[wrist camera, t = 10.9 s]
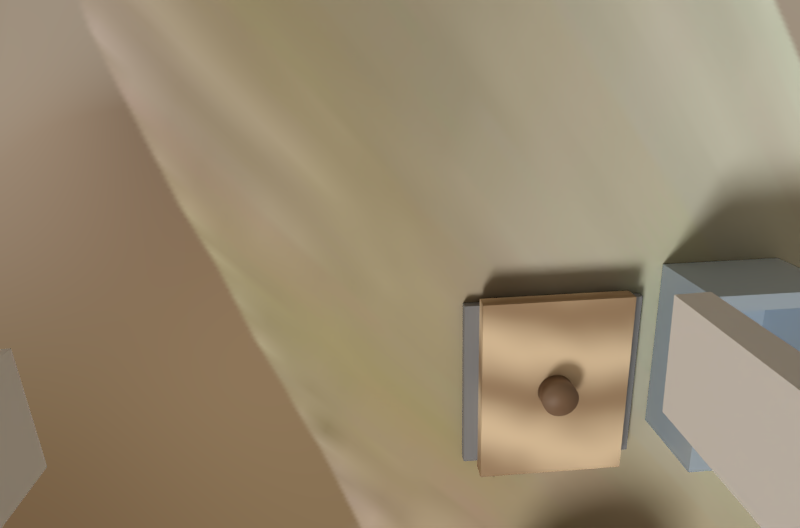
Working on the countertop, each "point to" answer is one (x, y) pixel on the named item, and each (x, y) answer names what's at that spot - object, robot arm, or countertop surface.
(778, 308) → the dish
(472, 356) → the mat
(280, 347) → the countertop surface
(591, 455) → the lid
